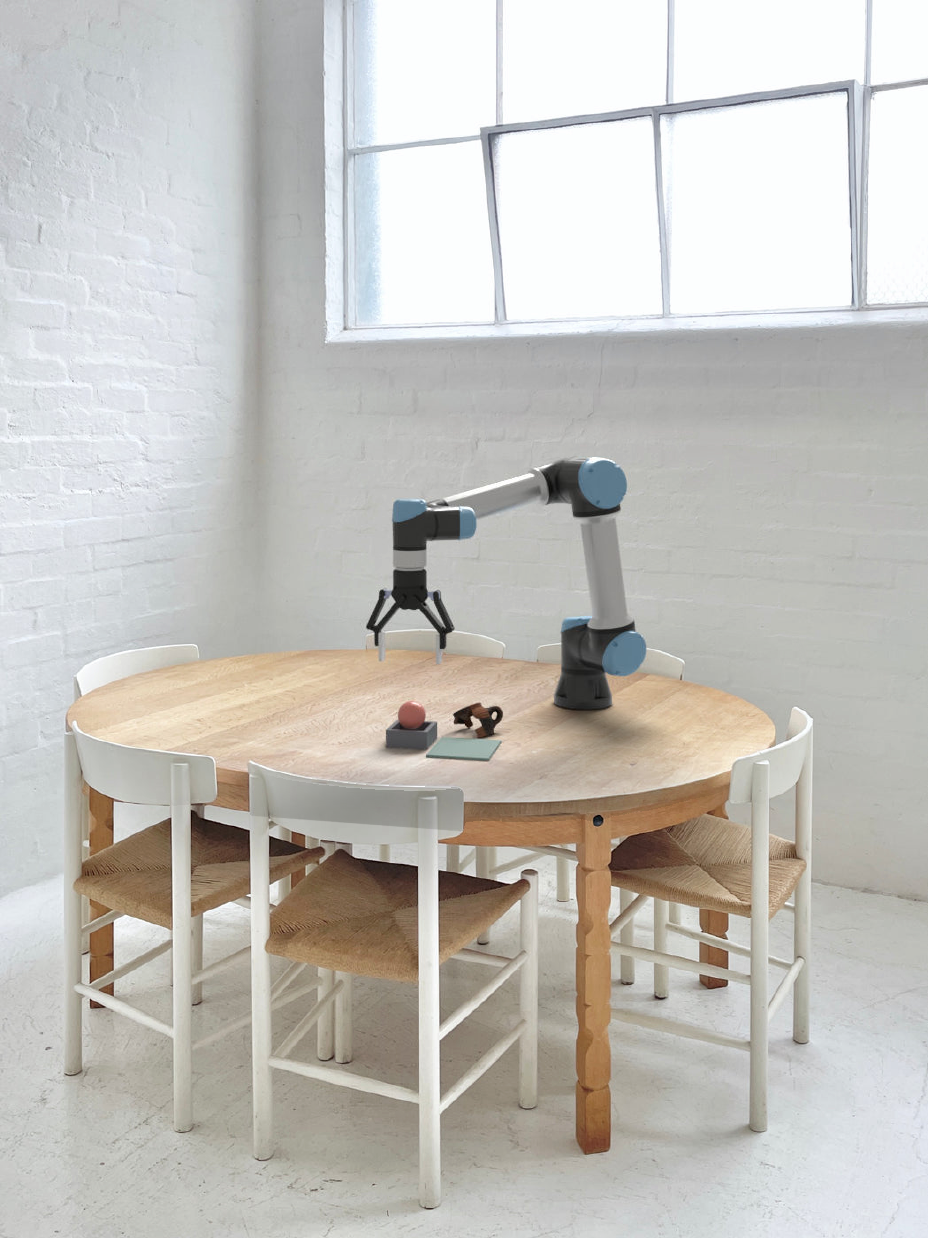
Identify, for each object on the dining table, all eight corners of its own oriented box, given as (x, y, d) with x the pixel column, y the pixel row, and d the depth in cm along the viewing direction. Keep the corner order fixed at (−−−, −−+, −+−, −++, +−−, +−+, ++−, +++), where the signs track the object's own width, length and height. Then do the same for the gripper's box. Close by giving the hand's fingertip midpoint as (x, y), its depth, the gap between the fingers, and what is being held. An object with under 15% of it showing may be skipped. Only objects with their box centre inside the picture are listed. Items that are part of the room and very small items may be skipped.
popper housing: (437, 738, 267) (437, 721, 267) (427, 749, 258) (427, 732, 257) (397, 736, 269) (397, 719, 269) (386, 747, 260) (385, 729, 259)
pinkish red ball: (428, 725, 265) (428, 698, 264) (421, 733, 259) (421, 705, 258) (402, 724, 267) (401, 697, 266) (394, 731, 261) (394, 704, 260)
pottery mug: (468, 742, 266) (454, 710, 267) (458, 750, 274) (445, 718, 276) (514, 724, 270) (500, 692, 271) (502, 732, 278) (489, 701, 280)
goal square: (501, 742, 264) (501, 740, 264) (488, 760, 249) (488, 758, 249) (442, 739, 267) (442, 736, 267) (426, 756, 252) (426, 754, 252)
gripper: (467, 567, 258) (467, 660, 262) (361, 564, 264) (363, 656, 267) (460, 572, 251) (459, 667, 254) (351, 568, 256) (353, 662, 260)
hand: (410, 661), depth 261 cm, fingers open, 13 cm apart
